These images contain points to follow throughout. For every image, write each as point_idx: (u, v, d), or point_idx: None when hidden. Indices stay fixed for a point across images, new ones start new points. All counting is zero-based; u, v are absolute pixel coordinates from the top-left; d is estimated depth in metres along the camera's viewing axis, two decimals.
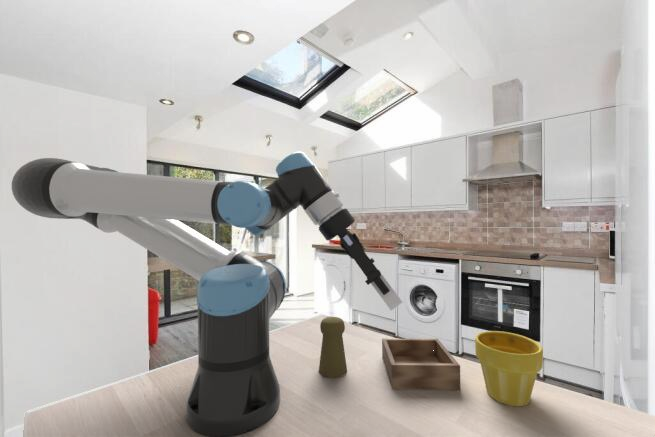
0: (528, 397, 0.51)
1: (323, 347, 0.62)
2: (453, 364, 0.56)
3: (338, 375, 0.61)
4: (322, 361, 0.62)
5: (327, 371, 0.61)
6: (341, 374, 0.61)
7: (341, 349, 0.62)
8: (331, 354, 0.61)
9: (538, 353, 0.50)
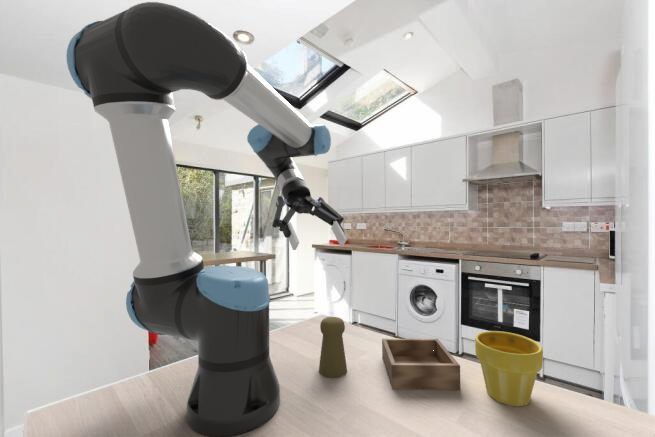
0: (528, 397, 0.51)
1: (323, 347, 0.62)
2: (453, 364, 0.56)
3: (338, 375, 0.61)
4: (322, 361, 0.62)
5: (327, 371, 0.61)
6: (341, 374, 0.61)
7: (341, 349, 0.62)
8: (331, 354, 0.61)
9: (538, 353, 0.50)
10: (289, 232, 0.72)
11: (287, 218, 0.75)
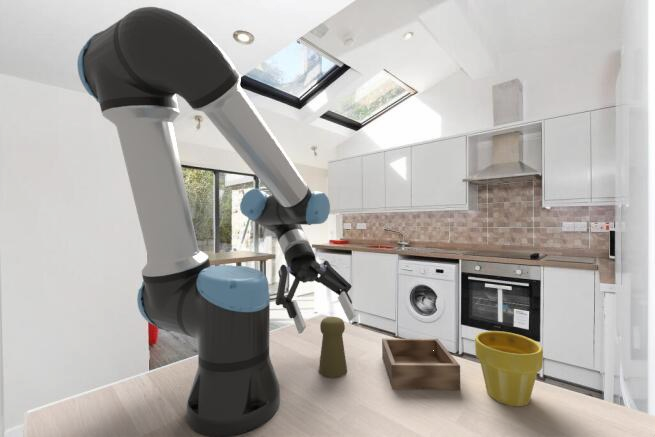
0: (528, 397, 0.51)
1: (323, 347, 0.62)
2: (453, 364, 0.56)
3: (338, 375, 0.61)
4: (322, 361, 0.62)
5: (327, 371, 0.61)
6: (341, 374, 0.61)
7: (341, 349, 0.62)
8: (331, 354, 0.61)
9: (538, 353, 0.50)
10: (295, 312, 0.65)
11: (292, 295, 0.68)
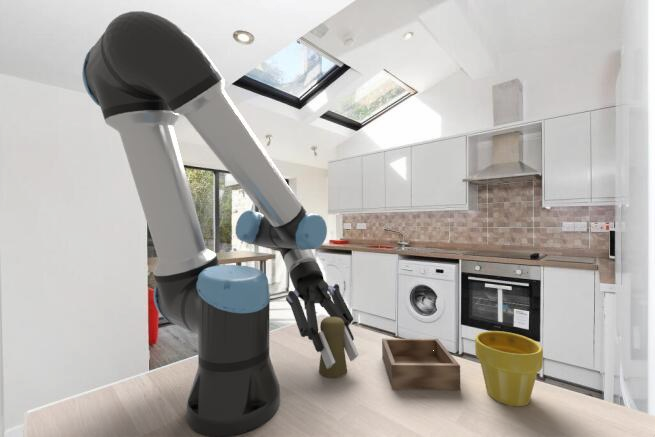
0: (528, 397, 0.51)
1: None
2: (453, 364, 0.56)
3: (338, 375, 0.61)
4: (322, 361, 0.62)
5: (327, 371, 0.61)
6: (341, 374, 0.61)
7: (341, 349, 0.62)
8: None
9: (538, 353, 0.50)
10: (322, 345, 0.60)
11: (316, 324, 0.63)
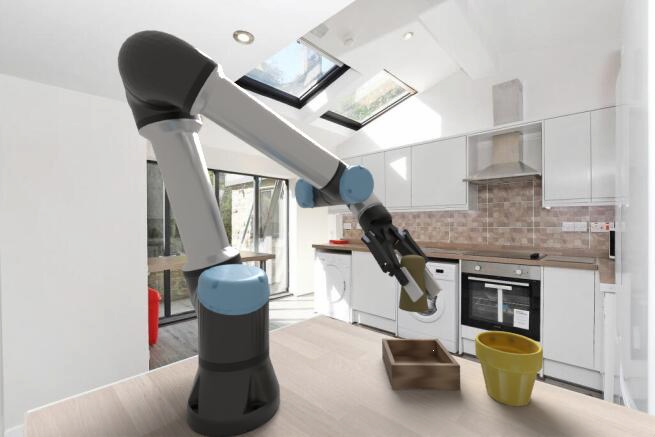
0: (528, 397, 0.51)
1: None
2: (453, 364, 0.56)
3: (422, 309, 0.60)
4: (404, 297, 0.62)
5: (411, 306, 0.61)
6: (425, 309, 0.61)
7: (423, 284, 0.62)
8: None
9: (538, 353, 0.50)
10: (407, 279, 0.60)
11: (397, 260, 0.62)
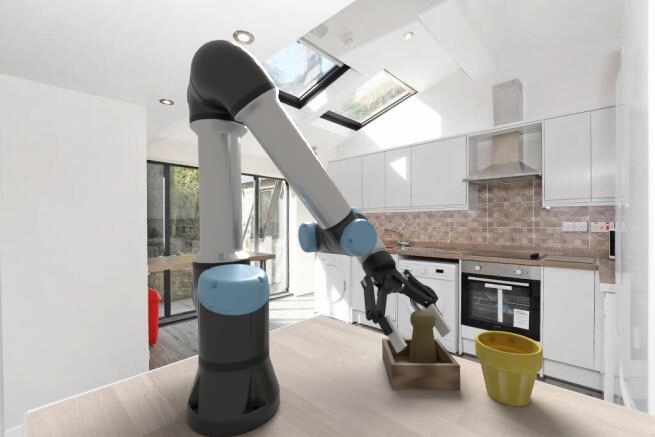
0: (528, 397, 0.51)
1: (415, 340, 0.64)
2: (453, 364, 0.56)
3: None
4: (415, 354, 0.63)
5: None
6: None
7: (433, 341, 0.63)
8: (425, 346, 0.62)
9: (538, 353, 0.50)
10: (391, 329, 0.58)
11: (384, 309, 0.61)
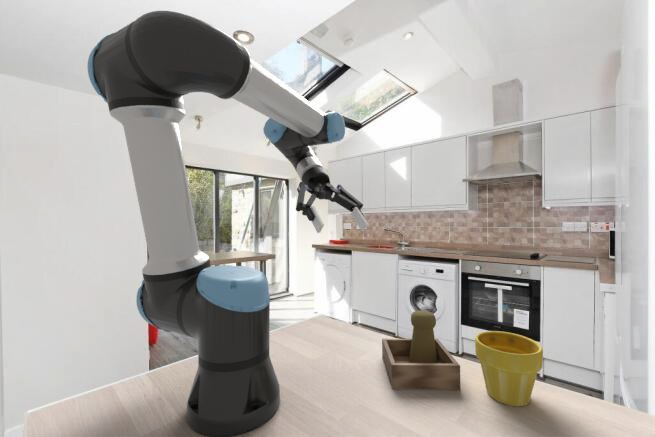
0: (528, 397, 0.51)
1: (416, 340, 0.64)
2: (453, 364, 0.56)
3: None
4: (415, 354, 0.63)
5: None
6: None
7: (434, 341, 0.63)
8: (425, 346, 0.62)
9: (538, 353, 0.50)
10: (313, 215, 0.73)
11: (311, 202, 0.76)
